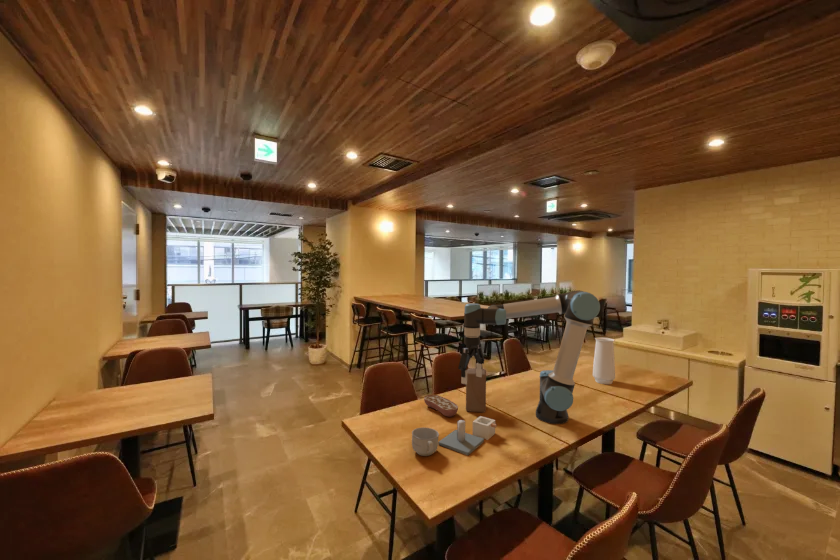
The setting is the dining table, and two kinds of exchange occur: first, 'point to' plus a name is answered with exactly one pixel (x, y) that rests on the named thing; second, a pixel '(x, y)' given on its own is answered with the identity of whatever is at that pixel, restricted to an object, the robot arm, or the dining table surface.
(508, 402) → the dining table surface
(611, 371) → the vase
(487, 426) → the white square sleeve
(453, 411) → the anatomical model
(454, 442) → the board
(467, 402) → the wooden block
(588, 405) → the dining table surface
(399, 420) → the dining table surface
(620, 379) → the dining table surface
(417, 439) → the teacup
